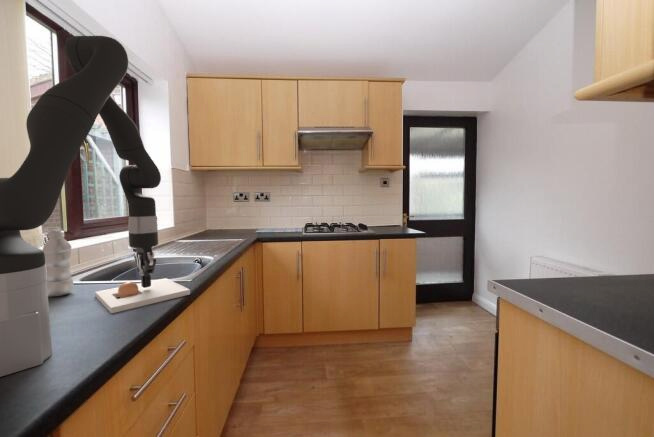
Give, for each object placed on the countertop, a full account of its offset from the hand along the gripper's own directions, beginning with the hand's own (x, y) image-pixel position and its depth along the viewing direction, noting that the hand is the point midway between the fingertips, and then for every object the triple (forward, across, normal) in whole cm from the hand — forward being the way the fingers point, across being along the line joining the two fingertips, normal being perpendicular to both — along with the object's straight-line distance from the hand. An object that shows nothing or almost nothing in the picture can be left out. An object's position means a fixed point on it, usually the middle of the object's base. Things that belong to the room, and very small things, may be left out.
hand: (146, 286), depth 90 cm
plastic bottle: (+3, +20, +18) cm, 27 cm away
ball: (0, 0, +5) cm, 5 cm away
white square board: (+2, 0, +1) cm, 3 cm away
